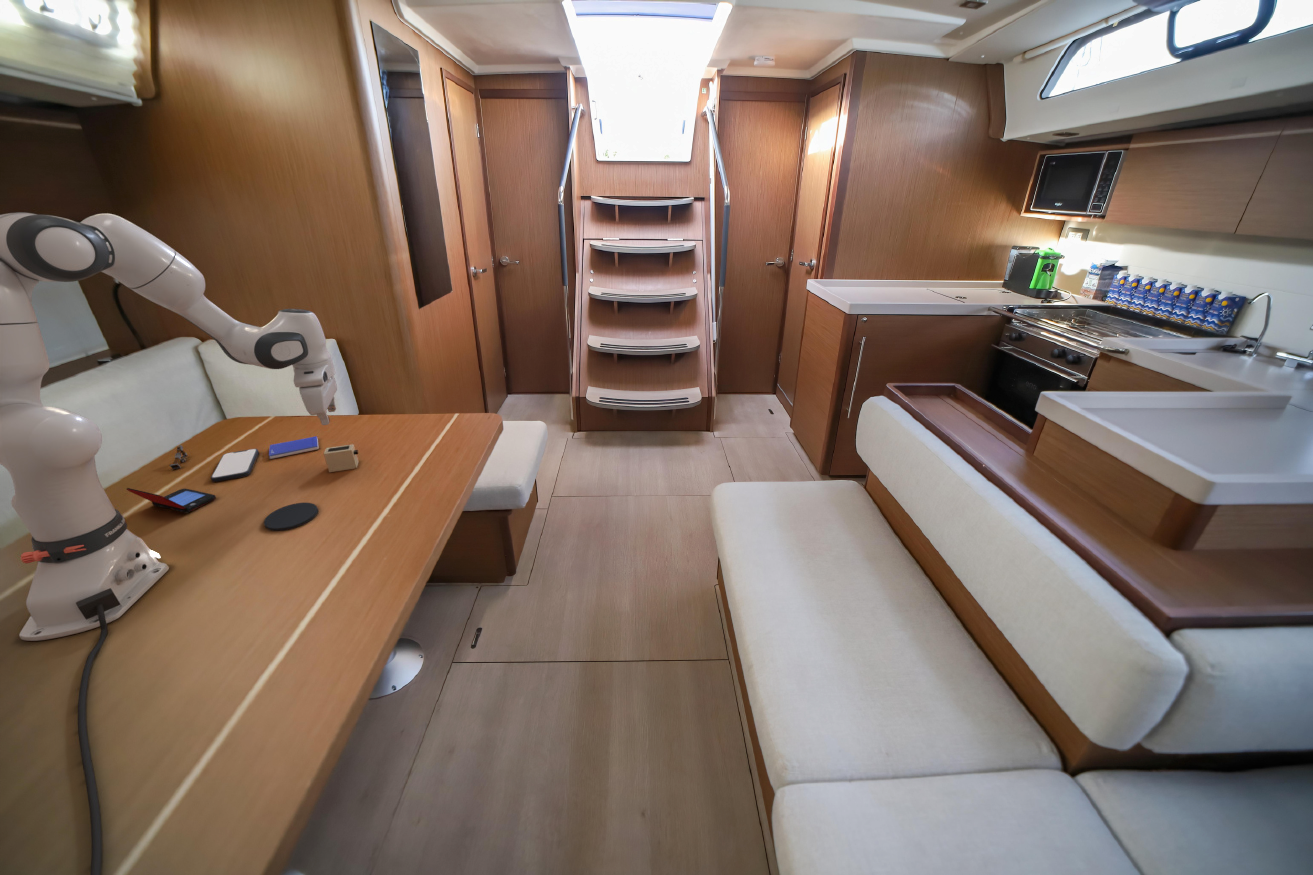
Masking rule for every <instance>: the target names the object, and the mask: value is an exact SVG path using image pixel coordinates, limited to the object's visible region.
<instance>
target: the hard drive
mask: <svg viewBox="0 0 1313 875" xmlns="http://www.w3.org/2000/svg"><path fill="white" fill-rule="evenodd" d="M316 450H319V439H318V436H317V435H316V436H310V437H305V438H300V439H296V440H290V441H289V440H288V441H284V442H279V443H273V444H270V445H269V449H268V458H269V459H270V460H272V459H278V458H282V457H283V458H284V457H288V456H292V455H297V454H302V453H306V452H311V451H316Z"/></svg>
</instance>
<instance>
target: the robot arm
mask: <svg viewBox="0 0 1313 875" xmlns="http://www.w3.org/2000/svg"><path fill="white" fill-rule="evenodd" d="M98 273H104V274H105V275H107V276H110V277H111V278H113V279H115V280H116V281H118V282H119V283H121V284H122V285H124V286H125V287H127V288H128V289H130V290H132V291H133V292H134V293H136V294H138V295H140V296H142V297H143V298H145V299H147V300H148V301H150V302H153V303H155V304H157V305H158V306H161V307H162V308H165V309H167V310H169V311H171V312H173V313H175V314H178V315H179V316H181V317H182V318H184V319H185V320H186V321H187V322H189V323H190V324H192V325H194V326H195V327H197V328H198V329H200V330H201V331H203V332H204V334H207V335H208V336H209V337H211V338H212V339H213V340H214V341H215V342H216V343H217V344H218V346H219V347H220V349H221V351H223V353H224V354H225V355H226V356H227V358H229V359H230V360H232V361H234V362H236V363H239V364H242V365H250V366H255V367H259V368H265V369H269V370H283V369H285V368H289V367H290V366H292V368H293V373H294V375H293V385H294V387H295V388H298V390H299V395H300V398H301V400H302V402H303V405H304V407H305V409H306V412H307V413H308V414H309V415H310V416H316V417H317V418H318V419H319V421H320V424H321V426H329V425H330V423H331V420H330V417H329V416H328V414H327V412H328V413H334V412H336V410H337V406H336V401H335V400H336V399H335V395H336V392H337V390H338V385H337V381H336V378H335V376H334V375H336V370H335V367H334V364H333V359H332V356H331V354H330V352H329V351H328V349H327V339H326V336H325V333H324V330H323V327H322V325H321V322H320V320H319V319H318V316H317V315H316V313H314V312H313V311H311V310H309V309H303V308H301V309H300V308H283V309H280V310H278V312H277V314H276V316H275V317H274V318H273V319H272V320H271V321H270V322H268V323H267V324H265V325H264V326H257V325H254V324H249V323H245V322H241V321H238V320H236V319H235V318H233V317H232V316H231V315H229V314H228V313H226V312H225V311H224V310H222V309H221V308H220V307H218V306H217V305H216V304H214V303H213V302H212V301H211V300H209V299H208V298H207V297H206V295H205V291H206V279H205V277H204V275H203V273H202V272H201V271H200V270H199V269H198V268H197V267H196V266H195V265H194V264H193V263H192V262H191V261H189V260H188V259H187V258H186V257H185V256H183V255H182V254H180V253H179V251H176V250H175V249H174V248H172V247H171V246H170V245H168V244H167V243H165V242H164V241H162V240H161V239H160V238H158V237H156V236H155V235H153V234H152V233H150V232H148V231H147V230H145V229H144V228H142V227H140V226H138V225H136V224H135V223H133V222H131V221H129V220H127V219H126V218H123V217H121V216H119V215H116V214H112V213H97V214H93V215H91V216H88V217H85V218H84V219H83V220H82V221H80V222H79V221H75V220H72V219H69V218H65V217H62V216H61V217H60V216H57V215H52V214H51V215H50V214H37V213H32V212H9V213H3V214H2V213H1V214H0V465H1V466H2V467H4V468H5V469H6V470H7V472H8V473H9V475H10V477H11V480H12V483H13V484H12V485H13V489H14V495H13V496H12V498H11V501H10V503H11V507H12V508H13V510H14V511H15V512H16V514H17V516H18V517H19V518H20V520H21V522H22V523H23V524H24V526H25V528H26V529H27V531H28V532H29V533H30V535H31V548H32V550H33V551H25V552H22V554H21V555H20V560H21V562H22V563H23V564H31V563H33V562H34V563H35V562H37V565H36V568H35V572H34V573H33V574H34V575H33V577H32V581H31V584H30V588H29V591H28V594H27V596H26V599H25V605H26V608H27V612H29V614H30V616H29V618H28V620H27V621H26V622H25V624H24V625H23V628H22V629H21V630H20V632H19V635H18V636H19V638H20V640H21V641H25V642H27V641H28V642H36V641H45V640H52V639H57V638H62V637H63V638H64V637H67V636H71V635H75V634H79V633H83V632H86V631H89V630H93V629H95V628H96V629H97V628H99V627H100V633H99V639H98V640H97V642H96V644H95V645H94V647H93V649H92V650H91V651H90V652H89V654H88V656H87V658H86V661H85V663H84V667H83V670H82V674H81V678H80V684H79V692H78V698H77V699H78V700H77V733H78V742H79V750H80V757H81V763H82V769H83V775H84V780H85V786H86V795H87V800H88V808H89V818H90V836H91V837H90V838H91V839H90V840H91V841H90V842H91V857H90V858H91V859H90V872H89V874H90V875H101V873H102V856H103V855H102V853H103V852H102V851H103V849H102V846H103V844H102V821H101V820H102V819H101V811H100V801H99V796H98V790H97V789H98V788H97V784H96V776H95V771H94V766H93V762H92V756H91V751H90V742H89V737H88V729H87V728H88V727H87V694H88V693H87V692H88V685H89V680H90V679H89V678H90V675H91V674H90V673H91V670H92V667H93V663H94V660H95V658H96V656H97V655H98V653H99V651H100V650H101V648H102V647H103V645H104V643H105V641H106V639H107V634H108V624H110V623H111V622H114V621H116V620H118V619H119V618H121V617H122V616H123V615H124V614H125V613H126V612H127V611H128V610H129V609H130V608H131V607H132V606H133V605H134V604H135V603H136V602H137V601H138V600H139V599H140V598H142V596H143V595H144V594H146V592H148V590H149V589H150V588H152V587H153V586H154V584H156V583H157V582H158V581H159V580H160V579H161V578H162V577H164V575H165V574H166V573H167V572H168V571H169V570H170V566H168V564H167V563H165V562H160V561H159V560H158V559H161V555H160V553H158V552H156V551H154V550H151V549H150V548H149V546H148V545H147V544H146V542H145V541H144V540H143V539H142V538H141V537H139V536H138V535H137V534H135V533H133V532H132V531H130V530H129V529H128V523H127V521H126V519H125V517H124V515H123V514H121V512H120V511H119V509H116V508H115V507H114V505H113V504H112V502H111V500H110V498H109V496H108V495H107V492H106V491H105V489H104V487H103V485H102V483H101V481H100V478H99V476H98V471H97V465H96V455H97V454H98V452H99V451H100V450H101V447H102V443H103V435H102V432H101V430H100V428H99V426H97V424H96V423H95V422H94V421H93V420H91V419H89V418H87V417H85V416H83V415H81V414H78V413H76V412H74V411H71V410H68V409H66V408H62V407H57V406H49V405H43V403H42V400H41V389H42V388H41V386H42V381H43V377H44V375H46V374H47V372H49V369H50V366H51V363H50V359H49V356H48V352H47V348H46V345H45V342H44V339H43V336H42V332H41V329H40V325H39V322H38V318H37V316H36V315H37V314H36V312H35V310H34V306H33V304H32V303H33V299H32V295H33V291H34V289H35V286H36V285H37V284H38V283H39V282H45V283H48V282H49V283H59V282H61V283H71V282H73V283H74V282H79V281H83V280H86V279H88V278H91V277H93V276H95V275H97V274H98Z"/></svg>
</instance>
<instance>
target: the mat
mask: <svg viewBox="0 0 1313 875" xmlns="http://www.w3.org/2000/svg"><path fill="white" fill-rule="evenodd" d="M318 514H319V508H318V506H317V504H315V503H312V502H296V503H292V504H288V505H285V506H282V507H279V508H277V509H276V510H273V511H272V512H271V513H269V514H268V515H267V516H266V517H265V518H264V520H263V525H264V527H265V529H267V530H269V531H272V532H283V531H289V530H293V529H296V528H300V527H302V526H304V525H306V524H308V523H309V522H311V521H312V520H314V519H315V518H316V517H317V515H318Z"/></svg>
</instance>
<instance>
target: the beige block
mask: <svg viewBox="0 0 1313 875" xmlns="http://www.w3.org/2000/svg"><path fill="white" fill-rule="evenodd" d="M358 455H359V450H358V449H356V447H355V444H353V443H352V444H345V445H338V446H331V447H326V448H325V449H324V451H323V458H324V460H325V463H326V466H327V470H328V472H329V473H334V472H341V471H346V470H353V469H358V467H359V466H358V465H359V458H358Z"/></svg>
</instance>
